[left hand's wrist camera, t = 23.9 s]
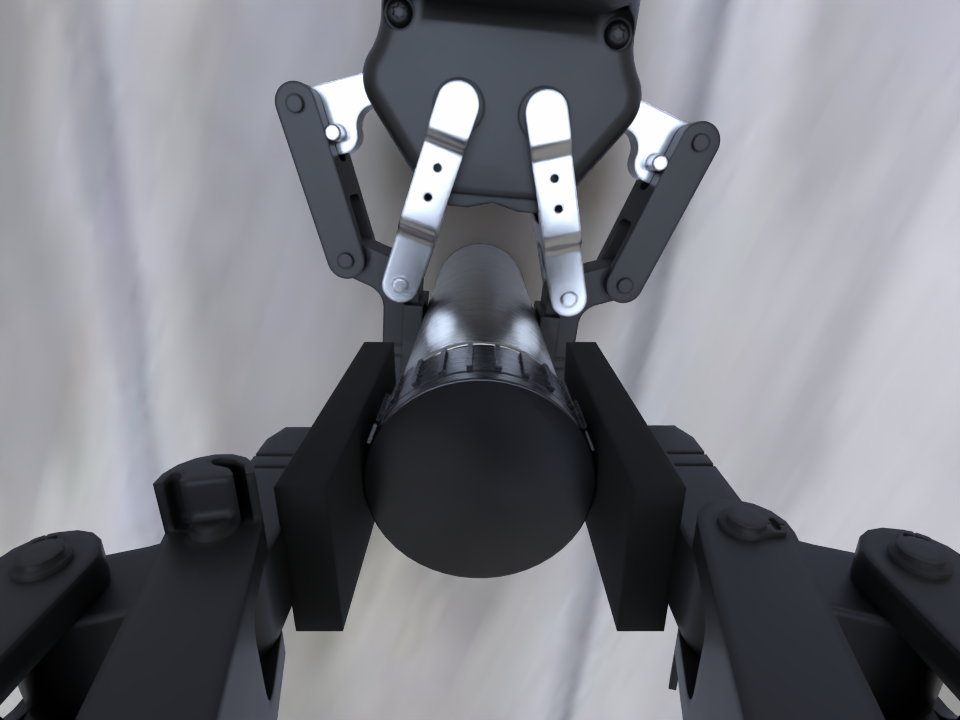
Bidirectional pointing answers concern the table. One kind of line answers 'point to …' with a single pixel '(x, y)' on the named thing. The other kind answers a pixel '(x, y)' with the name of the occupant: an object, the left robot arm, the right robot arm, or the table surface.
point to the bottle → (479, 308)
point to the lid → (479, 463)
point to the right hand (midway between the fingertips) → (474, 395)
